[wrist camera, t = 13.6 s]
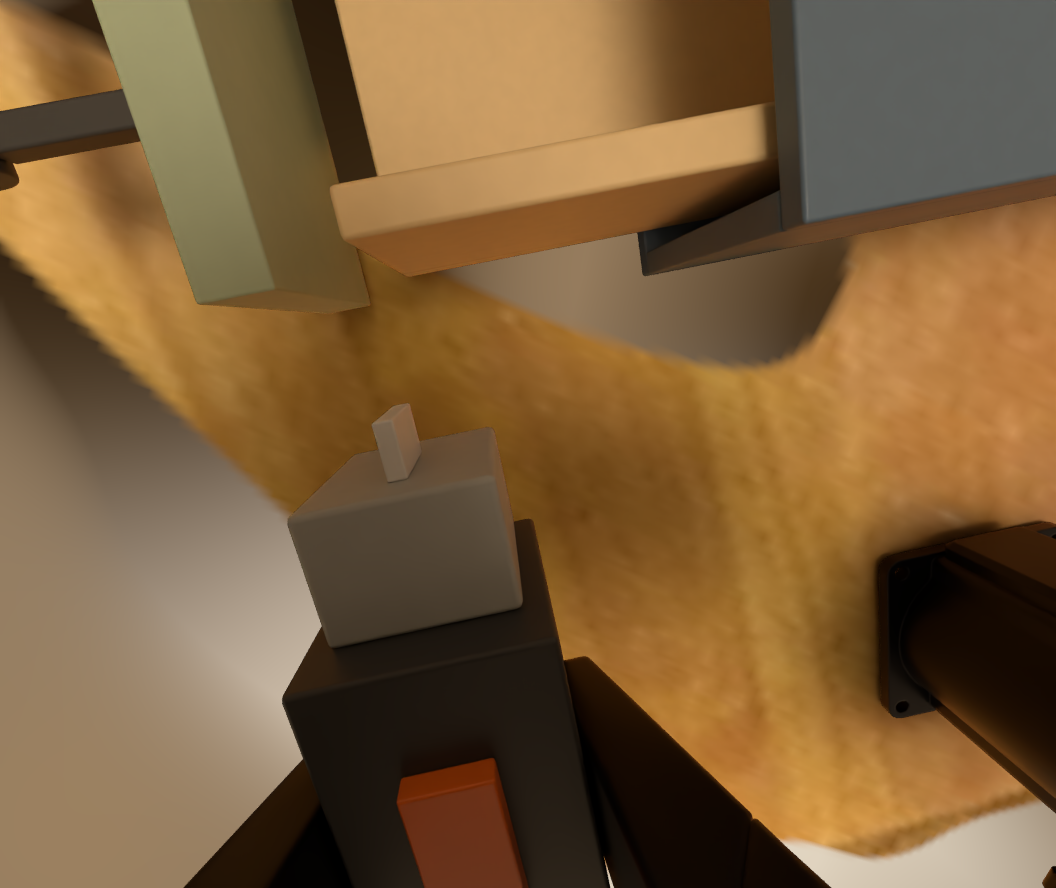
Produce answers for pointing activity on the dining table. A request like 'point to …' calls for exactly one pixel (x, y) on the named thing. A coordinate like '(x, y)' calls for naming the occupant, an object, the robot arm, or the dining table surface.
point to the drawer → (422, 132)
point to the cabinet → (891, 123)
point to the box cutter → (437, 675)
